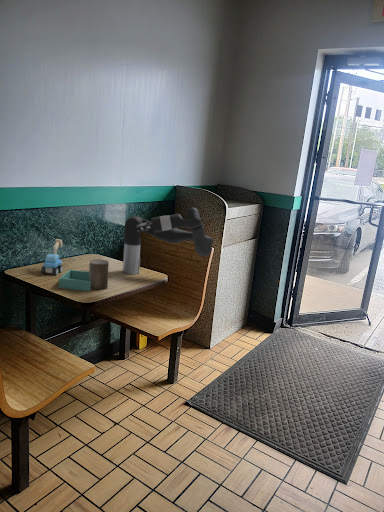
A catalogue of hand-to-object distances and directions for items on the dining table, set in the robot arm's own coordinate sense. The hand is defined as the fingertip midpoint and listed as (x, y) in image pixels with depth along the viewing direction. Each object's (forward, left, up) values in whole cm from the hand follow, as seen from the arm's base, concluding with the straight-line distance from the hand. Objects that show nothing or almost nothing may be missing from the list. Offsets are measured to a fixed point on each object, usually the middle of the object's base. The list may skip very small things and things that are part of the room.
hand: (130, 229), depth 215 cm
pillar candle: (+14, -2, -32) cm, 35 cm away
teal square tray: (+24, -5, -31) cm, 40 cm away
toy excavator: (+36, -28, -32) cm, 56 cm away
